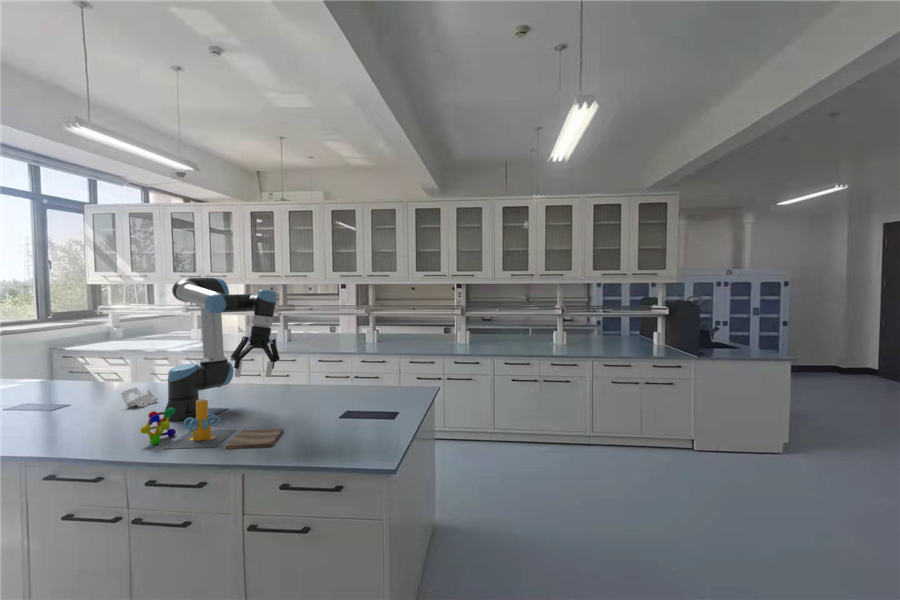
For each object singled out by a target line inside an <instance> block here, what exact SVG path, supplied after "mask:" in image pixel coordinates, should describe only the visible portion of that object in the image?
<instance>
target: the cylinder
mask: <svg viewBox="0 0 900 600" xmlns="http://www.w3.org/2000/svg"><path fill="white" fill-rule="evenodd" d="M215 419H217V421H216V423H214V422H215ZM189 420H190V422H189V423H188V425H187V422H188V421H189ZM210 420H211V421H210ZM220 422H221V419H220V417H219V416H218V415H215V414H214V413H213V412H211V413H209V399H206V398H202V399H200V398H199V400H197V401H196V417H195V418H187V419H186V420H183V426H184V428H185V429H188V431H193V440H195V441H202V440H206V439H209V438H210V437H211V430H212V427H215V426H218V425H219V423H220Z"/></svg>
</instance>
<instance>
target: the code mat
mask: <svg viewBox="0 0 900 600" xmlns="http://www.w3.org/2000/svg"><path fill="white" fill-rule="evenodd" d="M234 432H236V429H216V430H215V429H214V430H213V429H211V437H210V438H209V439H206V440H202V441H195V440H193V431H190V430H188V431H187V433H185V434H183V435H182V436H180V437H179V438H177V439H176V440H174V441H173V442H172V443H170V444H169V445H168V446H166V447H164V448H163V450H178V449H179V450H184V449H203V448H218V446H220V445H221V444H223V442H224V441H225V440H226V439H227V438H228V437H230V436H231V435H233V433H234Z"/></svg>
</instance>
